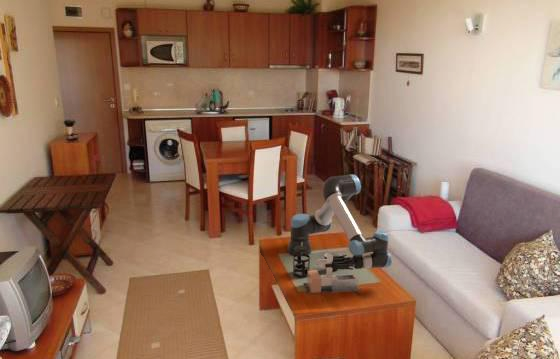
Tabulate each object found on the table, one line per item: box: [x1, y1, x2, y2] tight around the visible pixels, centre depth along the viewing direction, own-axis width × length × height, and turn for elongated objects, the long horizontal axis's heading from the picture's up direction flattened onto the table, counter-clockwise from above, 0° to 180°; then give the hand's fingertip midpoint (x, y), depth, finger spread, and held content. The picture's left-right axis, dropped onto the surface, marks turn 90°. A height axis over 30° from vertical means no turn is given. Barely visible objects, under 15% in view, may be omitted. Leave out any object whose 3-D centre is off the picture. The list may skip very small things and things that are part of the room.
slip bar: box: [319, 254, 338, 286], centre depth 232 cm, size 4×12×16 cm, turn 99°
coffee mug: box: [324, 252, 341, 273], centre depth 256 cm, size 12×9×10 cm
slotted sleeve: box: [302, 273, 360, 295], centre depth 234 cm, size 12×27×6 cm, turn 99°
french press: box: [292, 237, 311, 279], centre depth 247 cm, size 12×9×23 cm
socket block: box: [306, 269, 321, 293], centre depth 232 cm, size 10×5×8 cm, turn 9°
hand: (317, 263), depth 230 cm, fingers closed on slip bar, 3 cm apart
